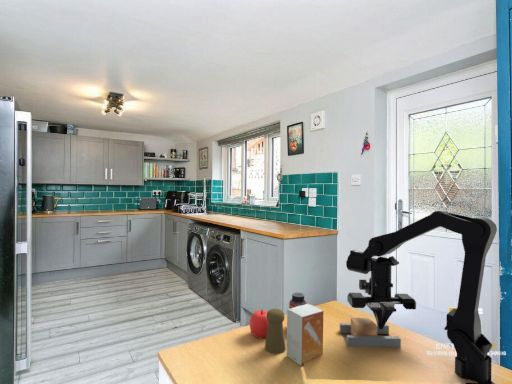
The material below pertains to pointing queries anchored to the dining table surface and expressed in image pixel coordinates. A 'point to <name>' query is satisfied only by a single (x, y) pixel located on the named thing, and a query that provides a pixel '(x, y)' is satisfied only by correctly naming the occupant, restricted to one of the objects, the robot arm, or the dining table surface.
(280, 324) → the olive pepper mill
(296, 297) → the supplement bottle
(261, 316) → the apple
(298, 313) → the small box
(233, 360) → the dining table surface
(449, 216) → the robot arm
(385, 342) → the chute
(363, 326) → the block
